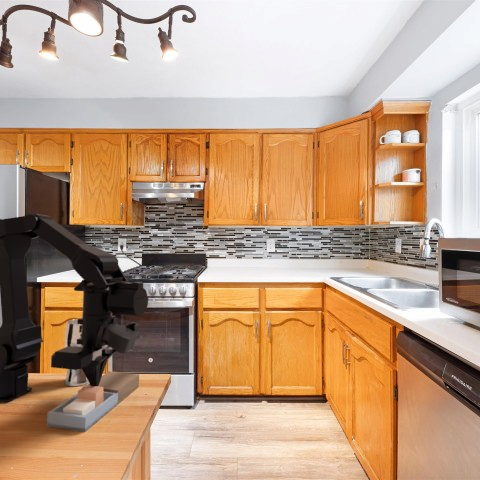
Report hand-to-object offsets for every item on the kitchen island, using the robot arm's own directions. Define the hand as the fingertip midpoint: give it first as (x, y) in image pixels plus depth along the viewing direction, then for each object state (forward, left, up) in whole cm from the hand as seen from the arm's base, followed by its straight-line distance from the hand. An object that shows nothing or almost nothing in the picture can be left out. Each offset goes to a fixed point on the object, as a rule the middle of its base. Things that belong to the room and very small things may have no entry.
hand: (94, 387), depth 65 cm
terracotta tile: (0, 0, -2) cm, 2 cm away
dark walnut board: (0, +7, -4) cm, 8 cm away
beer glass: (-12, +11, -4) cm, 17 cm away
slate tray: (0, -3, -4) cm, 5 cm away
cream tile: (0, -5, -1) cm, 5 cm away
